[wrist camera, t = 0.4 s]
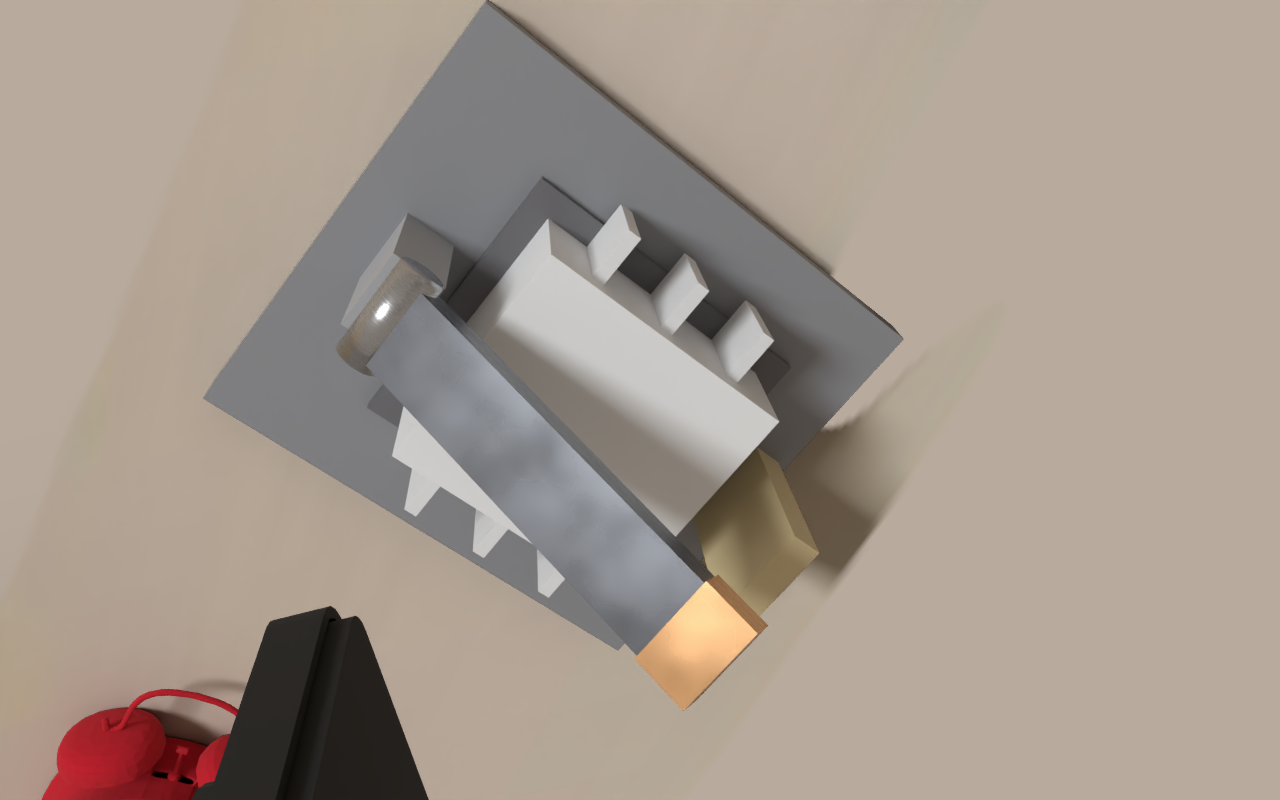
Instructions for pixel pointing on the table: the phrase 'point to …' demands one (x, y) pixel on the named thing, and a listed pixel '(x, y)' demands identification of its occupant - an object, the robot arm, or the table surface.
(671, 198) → the heatsink board
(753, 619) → the grey flat bar
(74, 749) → the alarm clock
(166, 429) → the table surface
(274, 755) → the robot arm
